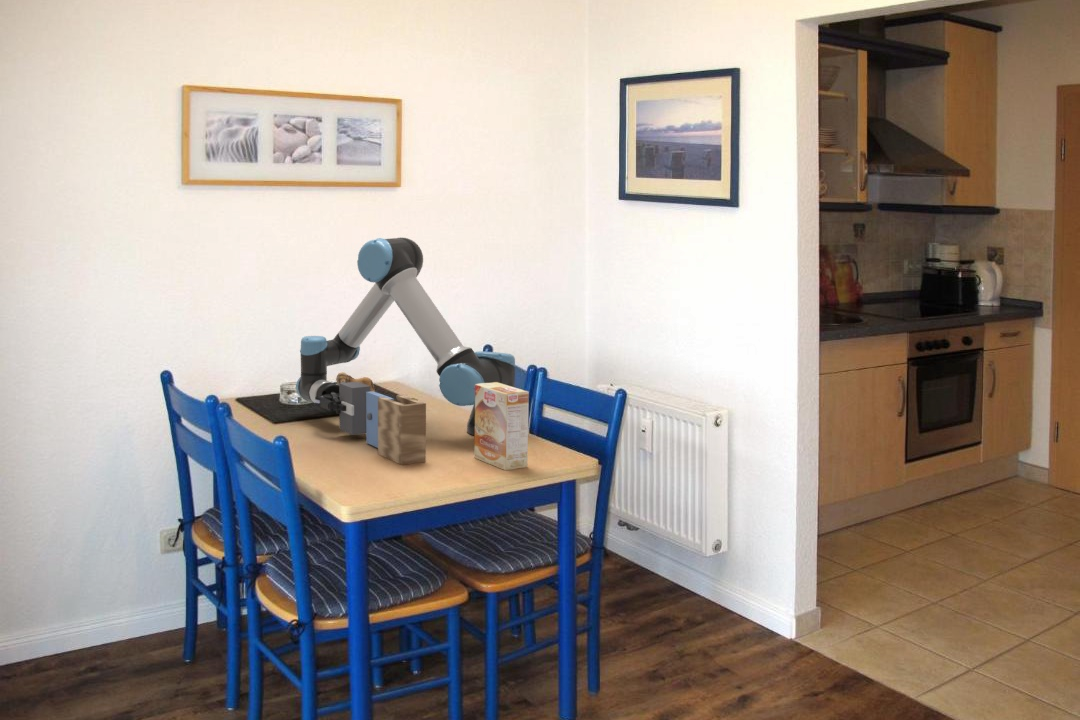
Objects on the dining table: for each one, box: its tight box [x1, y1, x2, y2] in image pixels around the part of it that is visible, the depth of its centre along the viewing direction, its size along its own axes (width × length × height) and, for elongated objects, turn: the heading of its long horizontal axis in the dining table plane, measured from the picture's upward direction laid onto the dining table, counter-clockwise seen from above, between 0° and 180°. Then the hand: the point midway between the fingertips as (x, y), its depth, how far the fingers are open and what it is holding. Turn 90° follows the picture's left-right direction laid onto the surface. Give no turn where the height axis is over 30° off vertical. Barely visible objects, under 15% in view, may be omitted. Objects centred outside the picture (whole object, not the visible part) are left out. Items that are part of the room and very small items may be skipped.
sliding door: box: [365, 391, 395, 449], centre depth 287 cm, size 12×3×14 cm, turn 36°
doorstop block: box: [339, 382, 372, 436], centre depth 299 cm, size 8×6×13 cm
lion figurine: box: [335, 372, 376, 392], centre depth 354 cm, size 15×5×9 cm, turn 128°
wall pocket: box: [377, 394, 427, 466], centre depth 277 cm, size 13×7×15 cm, turn 36°
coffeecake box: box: [473, 382, 530, 471], centre depth 274 cm, size 15×7×20 cm, turn 35°
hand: (363, 409), depth 294 cm, fingers closed on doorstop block, 5 cm apart
